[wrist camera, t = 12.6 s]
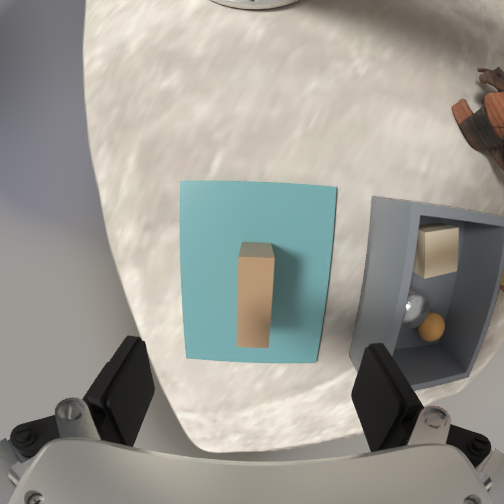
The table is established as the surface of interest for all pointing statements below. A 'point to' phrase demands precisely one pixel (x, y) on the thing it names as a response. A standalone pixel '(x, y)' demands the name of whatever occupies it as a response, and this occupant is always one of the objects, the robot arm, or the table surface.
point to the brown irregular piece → (485, 118)
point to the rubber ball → (432, 327)
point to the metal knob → (415, 309)
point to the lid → (254, 269)
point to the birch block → (436, 250)
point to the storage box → (428, 289)
